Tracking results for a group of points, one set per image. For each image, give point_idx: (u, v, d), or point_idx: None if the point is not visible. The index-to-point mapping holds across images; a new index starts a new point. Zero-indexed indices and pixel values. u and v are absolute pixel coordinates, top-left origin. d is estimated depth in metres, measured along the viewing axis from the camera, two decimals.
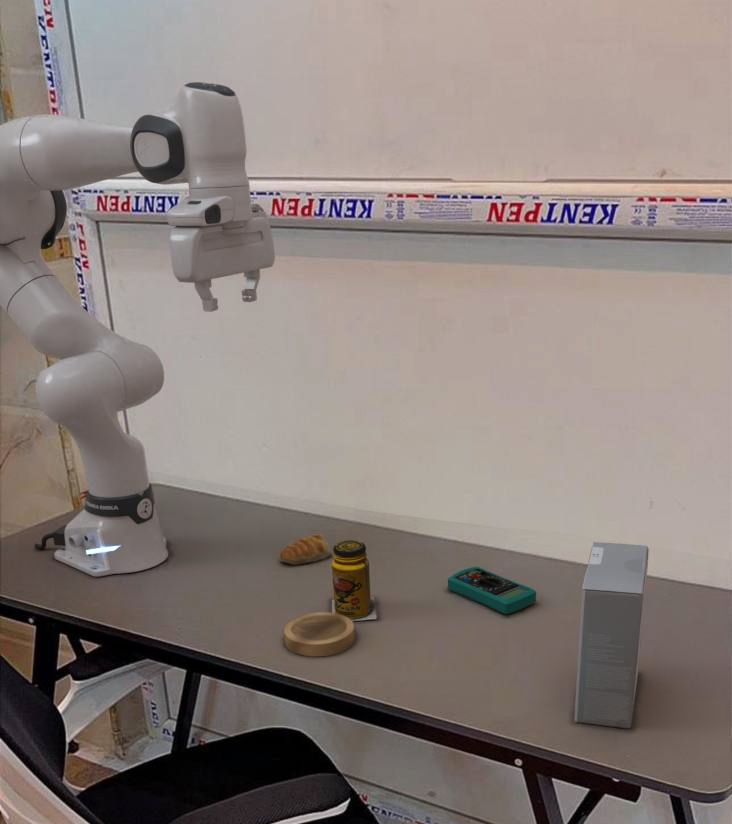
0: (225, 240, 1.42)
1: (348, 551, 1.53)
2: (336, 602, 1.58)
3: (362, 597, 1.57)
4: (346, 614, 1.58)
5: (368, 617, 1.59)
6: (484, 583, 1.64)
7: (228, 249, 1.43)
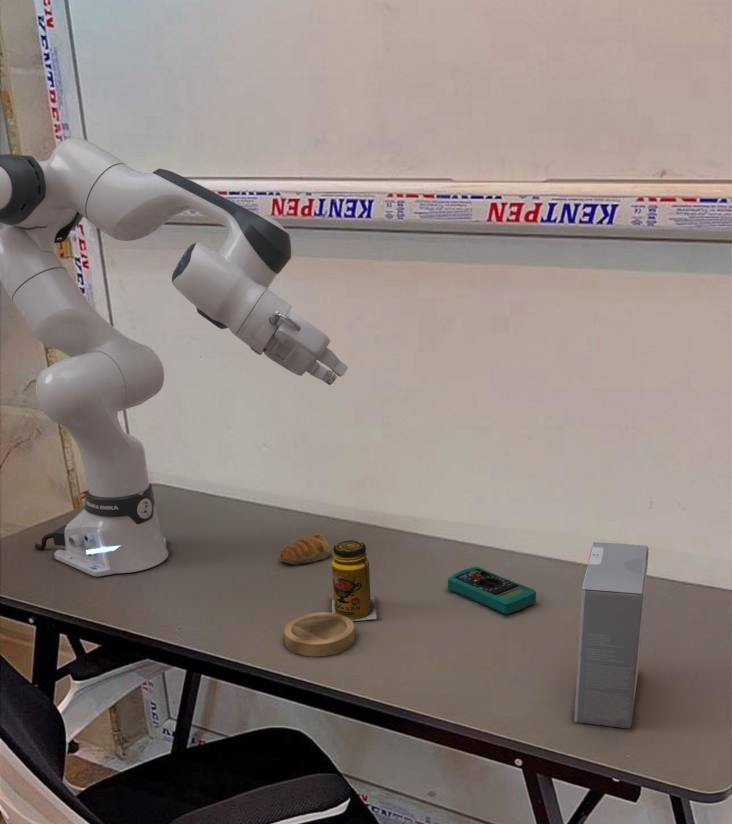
0: (283, 350, 1.54)
1: (348, 551, 1.53)
2: (336, 602, 1.58)
3: (362, 597, 1.57)
4: (346, 614, 1.58)
5: (368, 617, 1.59)
6: (484, 583, 1.64)
7: (289, 356, 1.55)
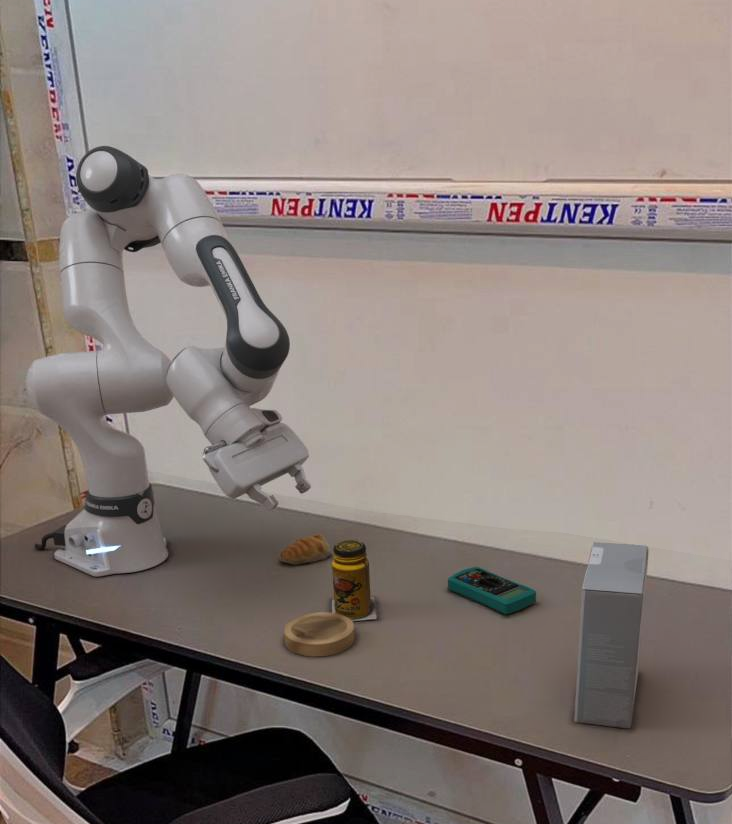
0: None
1: (348, 551, 1.53)
2: (336, 602, 1.58)
3: (362, 597, 1.57)
4: (346, 614, 1.58)
5: (368, 617, 1.59)
6: (484, 583, 1.64)
7: None
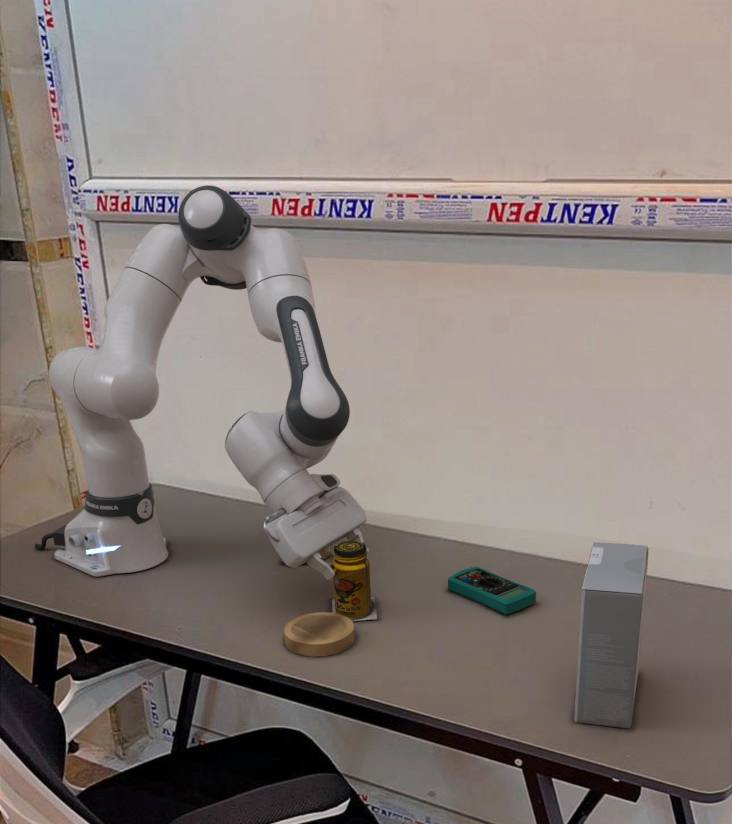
0: None
1: (348, 551, 1.53)
2: (336, 602, 1.58)
3: (362, 597, 1.57)
4: (346, 614, 1.58)
5: (368, 617, 1.59)
6: (484, 583, 1.64)
7: None
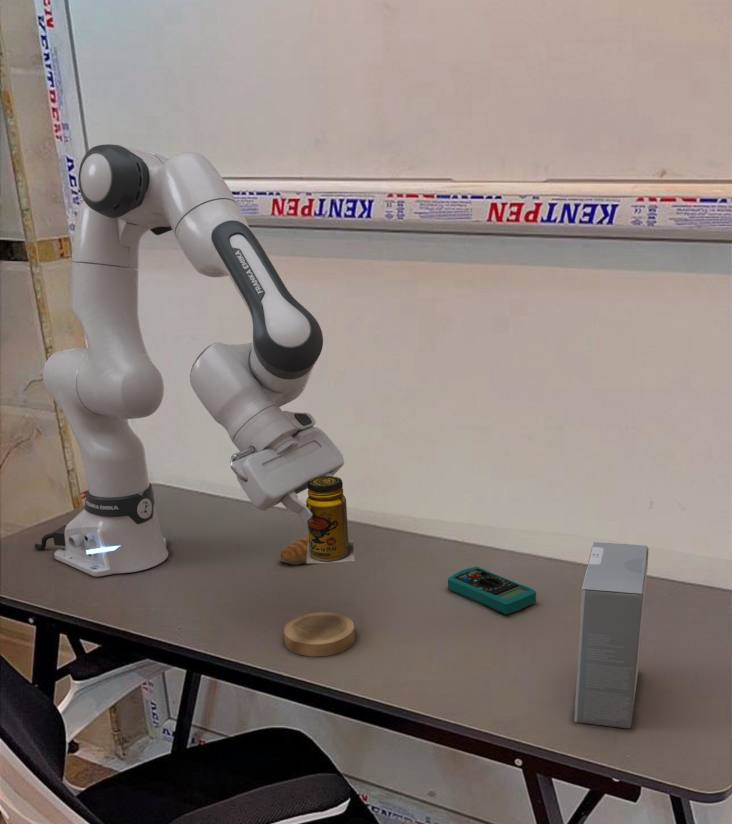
0: None
1: (322, 486, 1.42)
2: (311, 543, 1.47)
3: (338, 537, 1.45)
4: (322, 555, 1.46)
5: (345, 559, 1.47)
6: (484, 583, 1.64)
7: None
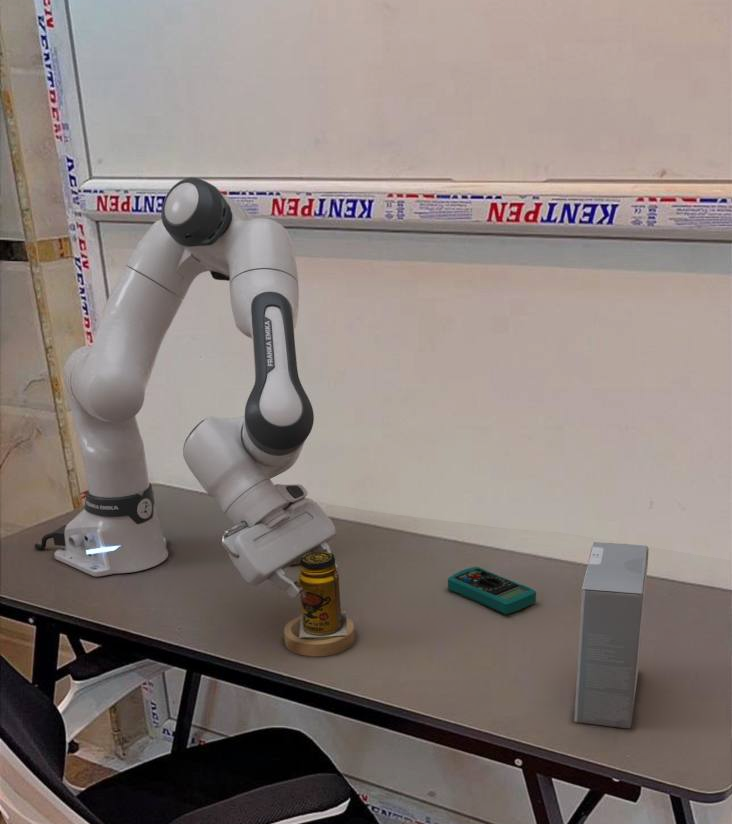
0: None
1: (315, 563, 1.44)
2: (304, 617, 1.49)
3: (331, 612, 1.47)
4: (314, 630, 1.48)
5: (338, 633, 1.49)
6: (484, 583, 1.64)
7: None
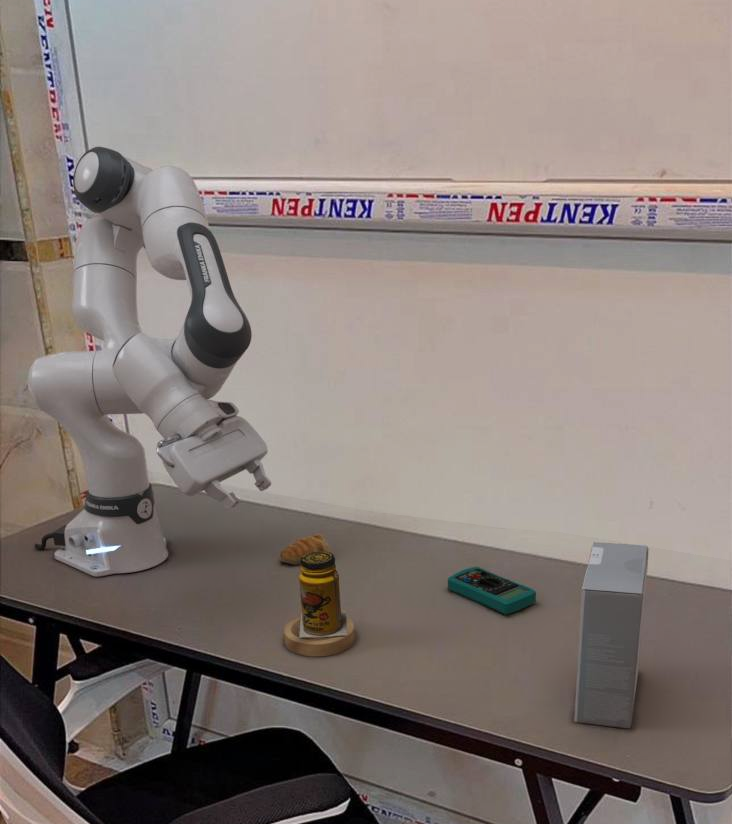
0: None
1: (315, 563, 1.44)
2: (304, 617, 1.49)
3: (331, 612, 1.47)
4: (314, 630, 1.48)
5: (338, 633, 1.49)
6: (484, 583, 1.64)
7: None
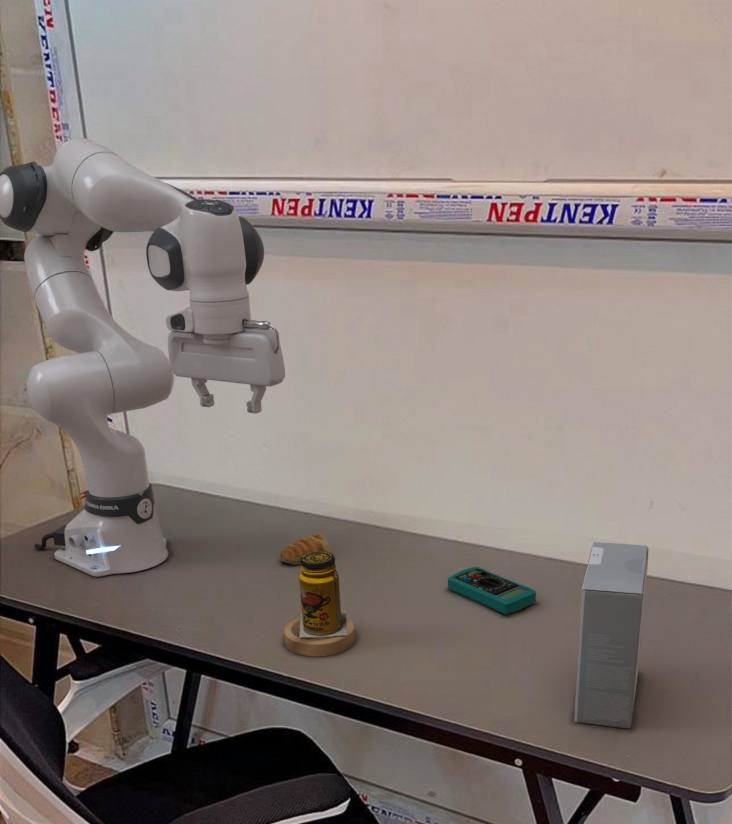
0: (210, 347, 1.47)
1: (315, 563, 1.44)
2: (304, 617, 1.49)
3: (331, 612, 1.47)
4: (314, 630, 1.48)
5: (338, 633, 1.49)
6: (484, 583, 1.64)
7: (211, 356, 1.47)
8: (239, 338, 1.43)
